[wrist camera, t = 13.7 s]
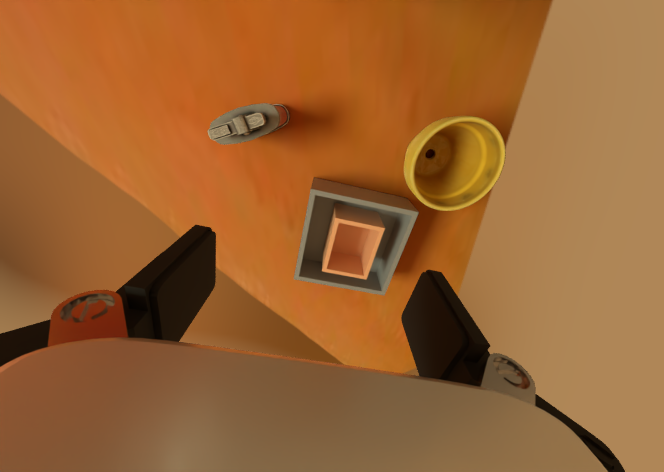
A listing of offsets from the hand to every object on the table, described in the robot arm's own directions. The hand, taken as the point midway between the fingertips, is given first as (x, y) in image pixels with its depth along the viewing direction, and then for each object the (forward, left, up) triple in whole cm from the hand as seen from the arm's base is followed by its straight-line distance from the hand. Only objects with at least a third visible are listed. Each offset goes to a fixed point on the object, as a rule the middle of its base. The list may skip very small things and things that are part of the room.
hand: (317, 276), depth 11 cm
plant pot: (-4, +14, -28) cm, 32 cm away
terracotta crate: (+11, +6, -28) cm, 30 cm away
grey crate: (+11, +6, -28) cm, 31 cm away
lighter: (-3, -10, -28) cm, 30 cm away
